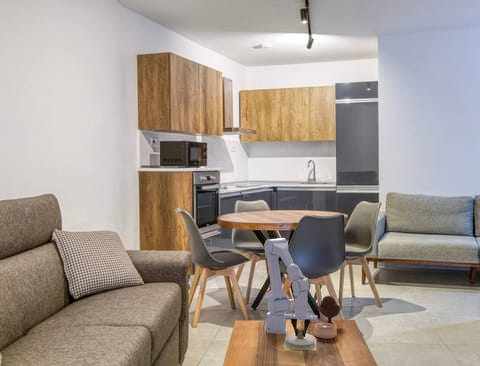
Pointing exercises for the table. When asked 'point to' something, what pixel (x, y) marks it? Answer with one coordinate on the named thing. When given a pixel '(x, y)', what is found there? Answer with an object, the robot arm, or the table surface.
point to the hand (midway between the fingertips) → (300, 335)
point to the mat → (300, 346)
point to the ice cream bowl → (329, 308)
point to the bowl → (325, 330)
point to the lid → (300, 338)
